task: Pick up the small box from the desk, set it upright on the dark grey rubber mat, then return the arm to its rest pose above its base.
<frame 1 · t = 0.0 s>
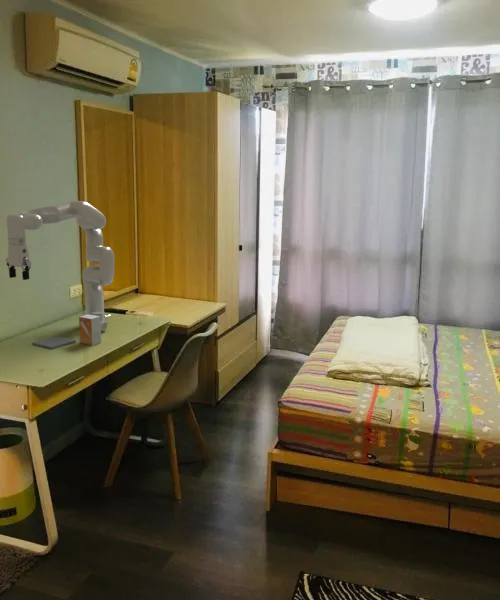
hand: (19, 278, 277), 31 cm above the table, tool pointing down, fingers open, 9 cm apart
rest mat: (54, 343, 283), on the table
small box: (90, 343, 285), on the table
air freshener: (97, 332, 305), on the table
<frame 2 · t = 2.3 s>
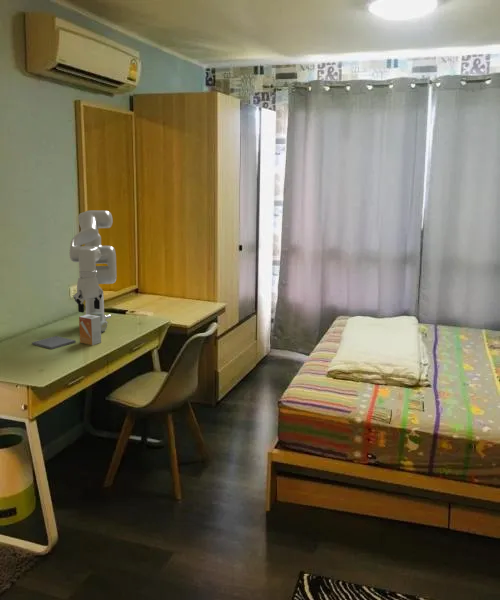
hand: (89, 310, 281), 16 cm above the table, tool pointing down, fingers open, 9 cm apart
nothing on the table moved.
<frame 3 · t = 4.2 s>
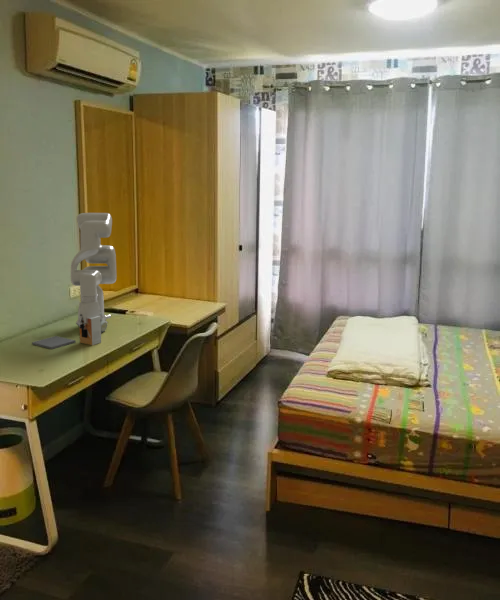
hand: (90, 335, 284), 4 cm above the table, tool pointing down, fingers closed on small box, 6 cm apart
small box: (90, 343, 285), on the table, touching gripper
everything else where it was.
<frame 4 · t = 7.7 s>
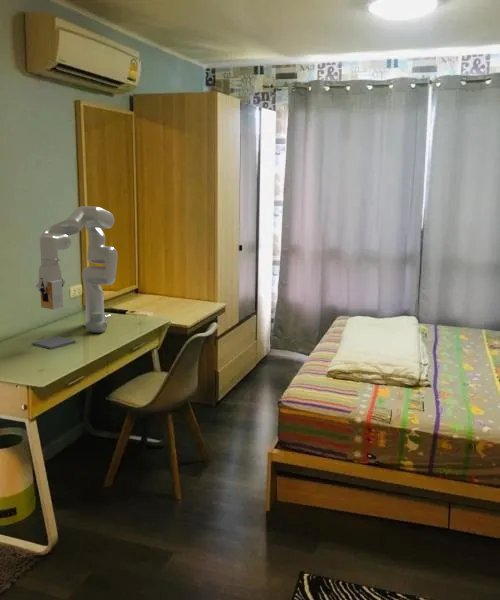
hand: (51, 299, 279), 21 cm above the table, tool pointing down, fingers closed on small box, 6 cm apart
small box: (52, 307, 280), point 17 cm above the table, touching gripper
everything else where it was.
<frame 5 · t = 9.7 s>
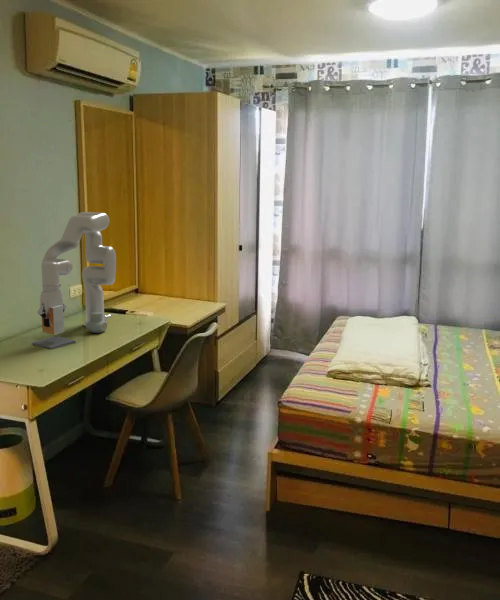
hand: (52, 324, 281), 9 cm above the table, tool pointing down, fingers closed on small box, 6 cm apart
small box: (53, 332, 282), point 5 cm above the table, touching gripper
everything else where it was.
when the fingers open (6 cm above the table, at t = 11.3 s): small box drops 1 cm, resting on rest mat.
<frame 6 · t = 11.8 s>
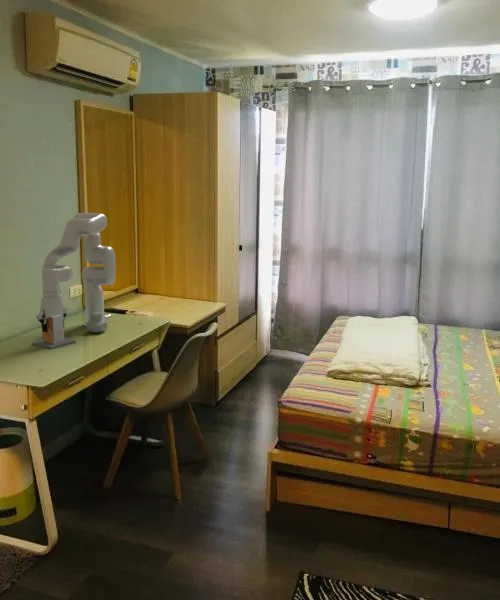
hand: (53, 329, 282), 7 cm above the table, tool pointing down, fingers open, 9 cm apart
small box: (53, 341, 283), point 1 cm above the table, touching rest mat
everything else where it was.
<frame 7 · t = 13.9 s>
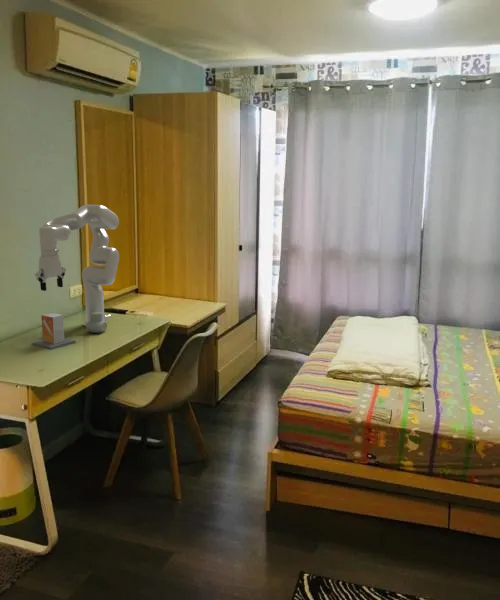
hand: (52, 288, 283), 26 cm above the table, tool pointing down, fingers open, 9 cm apart
nothing on the table moved.
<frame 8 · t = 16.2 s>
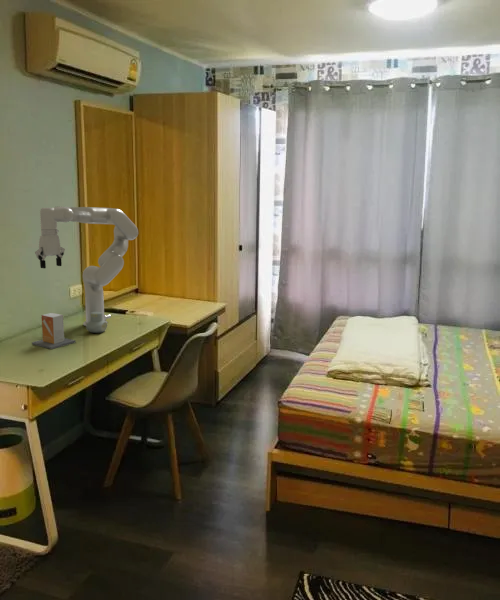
hand: (51, 266, 298), 33 cm above the table, tool pointing down, fingers open, 9 cm apart
nothing on the table moved.
at the end: small box inside the target area on the rest mat (0.2 cm from its centre), point 0.8 cm above the rest mat's base; small box tilted 0°; the gripper is holding nothing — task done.
